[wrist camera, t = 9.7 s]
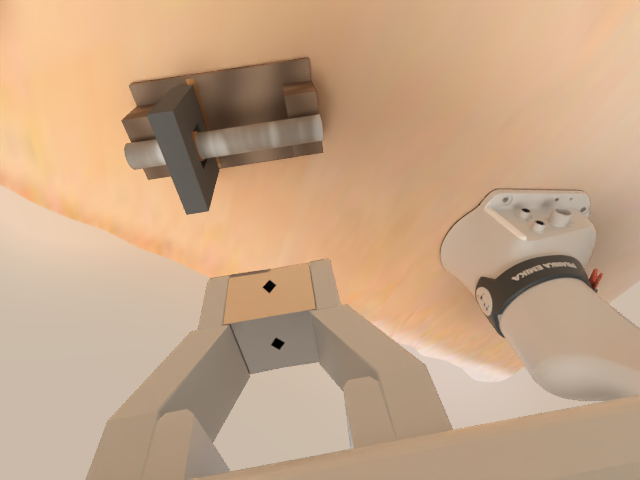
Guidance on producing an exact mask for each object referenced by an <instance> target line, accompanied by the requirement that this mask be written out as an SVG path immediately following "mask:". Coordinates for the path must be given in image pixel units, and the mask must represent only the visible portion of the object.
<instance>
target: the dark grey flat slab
mask: <svg viewBox="0 0 640 480" xmlns="http://www.w3.org/2000/svg"><path fill="white" fill-rule="evenodd" d="M147 118H148V120H149V123H150V125H151V128H152V130H153V133H154V135H155V138H156V140H157V143H158V145H159V148H160V150H161V152H162V155H163V157H164V160H165V162H166V165H167V167H168V170H169V172H170V175H171V177H172V180H173V182H174V185H175V187H176V190H177V192H178V194H179V197H180V199H181V202H182V204H183V207H184V209H185V212H186V214H187V215H188V214H194V213H200V212H207V211H209V208H210V204H211V200H212V196H213V192H214V188H215V184H216V181H217V177H218V173H219V167H218V164H217V161H216V157H213V158H207V159H204V161H200V158H199V155H198V153H197V150H196V147H195V144H194V141H193V138H192V135H191V134H192V132H195V131H197V132H198V133H200V132H206V131H207V128H206V125H205V122H204V119H203V115H202V112H201V109H200V106H199V102H198V99H197V96H196V93H195V90H194V86H193V85H186V86H180V87H173V88H171V89H170V90H169V92H168V93H167V94H166V95H165V96H164V97H163V98H162V99H161V100H160V101H159V102H158V103H157V104H156V105H155V106H154V107H153V108H152V109H151V110H150V111H149V113H148V114H147Z"/></svg>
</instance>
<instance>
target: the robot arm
mask: <svg viewBox="0 0 640 480" xmlns="http://www.w3.org/2000/svg"><path fill="white" fill-rule="evenodd" d="M505 197H506V198H505ZM504 198H505V199H504ZM503 199H504V200H503ZM589 213H590V200H589V197H588V195H587V194H586V193H585V192H583V191H571V190H513V189H497V190H494V191H492V192H491V193H490V194H489V195H488V196H487V197H486V198H485V199H484V200H483V201H482V202H481V204H480V205H479V206H478V207H477V208H476V209H474V210H473V211H472V212H470V213H469V214H467V215H466V216H464V217H463V218H462V219H461V220H459V221H458V222H457V223H456V224H455V225H454V226H453V227H452V229H451V230H450V231H449V233H448V234H447V236H446V237H445V239H444V241H443V244H442V247H441V253H440V257H441V262H442V265H443V267H444V268H445V269H446V271H448V272H449V273H450V274H452V275H453V276H454V277H456V278H457V279H458V280H459V281H460V282H461V283H462V284H463V285H464V286H465V287H466V288H467V289H468V290H469V291H470V292H471V293H472V294H473V295H474V296H475V298H476V300H477V302H478V304H479V306H480V308H481V309H482V311H483V312H484V314H485V315H486V317H487V318H488V320H489V321H490V323H491V324H492V326H493V327H494V328H495V330H496V331H497V332H498V334H499V335H501V336H502V337H504V338H506V340H507V341H508V342H509V344H510V345H511V347H512V348H513V350H514V351H515V353H516V354H517V356H518V357H519V359H520V360H521V362H522V363H523V365H524V366H525V367H526V369H527V370H528V372H529V373H530V375H531V376H532V378H533V379H534V380H535V382H537V383H538V384H539V385H540V386H541V387H542V388H543V389H545V390H546V391H548V392H550V393H552V394H554V395H556V396H559V397H562V398H566V399H571V400H578V401H604V402H599V403H593V404H588V405H583V406H577V407H572V408H567V409H561V410H556V411H551V412H545V413H540V414H535V415H529V416H524V417H519V418H513V419H508V420H503V421H497V422H492V423H487V424H481V425H476V426H471V427H465V428H460V429H455V430H453V428H452V426H451V424H450V421H449V419H448V416H447V414H446V412H445V409H444V407H443V405H442V402H441V400H440V398H439V395H438V393H437V391H436V388H435V386H434V384H433V381H432V379H431V376H430V374H429V372H428V369H427V367H426V365H425V364H424V363H422V362H421V361H420V360H418V359H417V358H416V357H415V356H413V355H412V354H410V353H409V352H408V351H407V350H406V349H404V348H403V347H401V346H400V345H399V344H398V343H396V342H395V341H394V340H393V339H391V338H390V337H389V336H387V335H386V334H385V333H384V332H382V331H381V330H380V329H378V328H377V327H376V326H374V325H373V324H372V323H371V322H369V321H368V320H367V319H365V318H364V317H363V316H361V315H360V314H359V313H358V312H356V311H355V310H354V309H352V308H351V307H350V306H349V305H341V303H340V299H339V295H338V291H337V287H336V282H335V278H334V274H333V270H332V266H331V261H330V260H329V259H322V260H317V261H312V262H309V263H310V266H309V263H303V264H297V265H292V266H286V267H280V268H274V269H268V270H261V271H254V272H247V273H240V274H233V275H228V276H221V277H214V278H210V279H209V281H208V282H207V287H206V291H205V296H204V301H203V306H202V311H201V316H200V321H199V326H198V330H195V331H191V332H190V333H189V334H188V335H187V336H186V337H185V339H184V340H183V341H182V342H181V343H180V344H179V345H178V346H177V347H176V348H175V349H174V350H173V351H172V352H171V354H170V355H169V356H168V357H167V358H166V359H165V360H164V361H163V362H162V363H161V364H160V366H158V368H157V369H156V370H155V371H154V372H153V373H152V374H151V375H150V376H149V377H148V378H147V379H146V380H145V381H144V383H143V384H142V385H141V386H140V387H139V388H138V389H137V390H136V391H135V392H134V393H133V394H132V395H131V396H130V398H129V399H128V400H127V401H126V402H125V403H124V404H123V405H122V406H121V407H120V408H119V409H118V410H117V411H116V413H115V414H114V415H113V416H112V417H111V418H110V419H109V420H108V421H107V424H106V427H105V429H104V432H103V434H102V437H101V440H100V442H99V445H98V448H97V451H96V453H95V456H94V459H93V461H92V464H91V467H90V469H89V472H88V475H87V477H86V480H640V328H639V327H637V326H636V325H635V324H633V323H632V322H631V321H629V320H628V319H627V318H625V317H624V316H623V315H622V314H620V313H619V312H618V311H616V310H615V309H614V308H613V307H612V306H610V305H609V304H608V303H607V302H606V301H605V300H603V299H602V298H601V297H600V296H599V295H598V294H597V291H598V290H597V289H596V287H597V285H598V283H599V281H600V279H601V277H602V275H603V274H602V273H600V274H599V276H598V277H597V269H594V270H593V272H592V274H591V276H590V279H588V277H587V274H586V272H585V268H586V266H587V264H588V262H589V259H590V257H591V255H592V253H593V250H594V247H595V243H596V230H595V227H594V225H593V224H592V222H591V221H590V220H589V219H588V218H589ZM310 271H311V272H310ZM311 277H312V278H311ZM596 278H597V279H596ZM316 362H319V363H320V365H321V366H322V367H323V368H324V369H325V370H326V372H327V373H328V374H329V375H330V376H331V378H332V379H333V380H334V381H335V382H336V383H337V384H338V386H339V387H340V388H341V389H342V391H343V392H344V399H345V407H346V415H347V423H348V432H349V440H350V447H351V449H348V450H342V451H338V452H332V453H326V454H322V455H316V456H311V457H305V458H300V459H295V460H289V461H284V462H278V463H273V464H268V465H262V466H257V467H252V468H246V469H241V470H236V471H231V472H229V468H228V466H227V465H226V463H225V462H224V460H223V459H222V457H221V455H220V454H219V452H218V451H217V449H216V448H215V447H214V445H213V441H214V440H215V438H216V436H217V434H218V433H219V431H220V429H221V427H222V425H223V423H224V422H225V420H226V418H227V417H228V415H229V413H230V411H231V409H232V408H233V406H234V404H235V402H236V400H237V399H238V397H239V395H240V394H241V392H242V390H243V388H244V387H245V385H246V383H247V381H248V379H249V378H250V375H249V374H254V373H259V372H263V371H268V370H273V369H278V368H283V367H289V366H295V365H302V364H309V363H316Z"/></svg>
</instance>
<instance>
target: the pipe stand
mask: <svg viewBox="0 0 640 480" xmlns="http://www.w3.org/2000/svg"><path fill="white" fill-rule="evenodd" d="M186 85H193V86H194V90H195V93H196V96H197V99H198V102H199V106H200V109H201V112H202V115H203V119H204V122H205V125H206V128H207V131H206V132H200V133H198V132H197V131H195V132H192V134H191V135H192V138H193V141H194V144H195V147H196V150H197V153H198V155H199V158H200V161H204V159H207V158H213V157H216V161H217V164H218V167H219V169H221V168H227V167H234V166H240V165H246V164H253V163H259V162H266V161H272V160H279V159H285V158H291V157H298V156H304V155H311V154H317V153H323V147H322V141H323V140H324V135H323V126H322V120H321V116H320V114H319V110H318V101H317V92H316V90H315V88H314V85H313V83H312V81H311V76H310V67H309V59H308V58H301V59H294V60H287V61H280V62H274V63H267V64H260V65H253V66H246V67H239V68H232V69H225V70H219V71H212V72H205V73H198V74H191V75H184V76H177V77H170V78H164V79H157V80H150V81H143V82H136V83H131V84H130V85H129V88H130V90H131V92H132V95H133V97H134V100H135V102H136V104H137V107H136V108H135V109H134V110H132V111H131V112H130V113H129V114H128V115H127V116H126V117H125V118H124V119H122V120H121V121H122V123H123V125H124V127H125V130H126V132H127V134H128V136H129V139H130V141H131V143H127V144H126V145H125V148H124V151H125V157H126V160H127V162H128V164H129V165H130V167H131V168H132V169H134V170H136V169H142V168H143V170H144V172H145V174H146V176H147V178H148V180H150V179H156V178H163V177H169V176H171V175H170V172H169V170H168V167H167V165H166V162H165V160H164V157H163V155H162V152H161V150H160V148H159V145H158V143H157V140H156V138H155V135H154V133H153V130H152V128H151V125H150V123H149V120H148V118H147V114H148V113H149V111H150V110H151V109H152V108H153V107H154V106H155V105H156V104H157V103H158V102H159V101H160V100H161V99H162V98H163V97H164V96H165V95H166V94H167V93H168V92H169V90H170V89H171V88H173V87H180V86H186Z"/></svg>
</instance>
